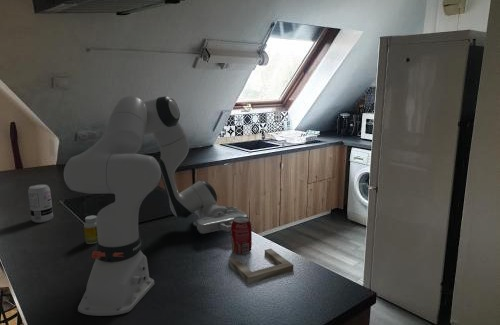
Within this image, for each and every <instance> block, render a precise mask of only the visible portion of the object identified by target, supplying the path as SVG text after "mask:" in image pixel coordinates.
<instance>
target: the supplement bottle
mask: <svg viewBox="0 0 500 325" xmlns="http://www.w3.org/2000/svg"><path fill="white" fill-rule="evenodd" d="M96 217H97V215H87V216H86V217H85V218H84V221H85V222H84V224H83V231H84V241H85V243H86V244H88V245H95V244H97V241H98V236H97V226H96Z"/></svg>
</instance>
